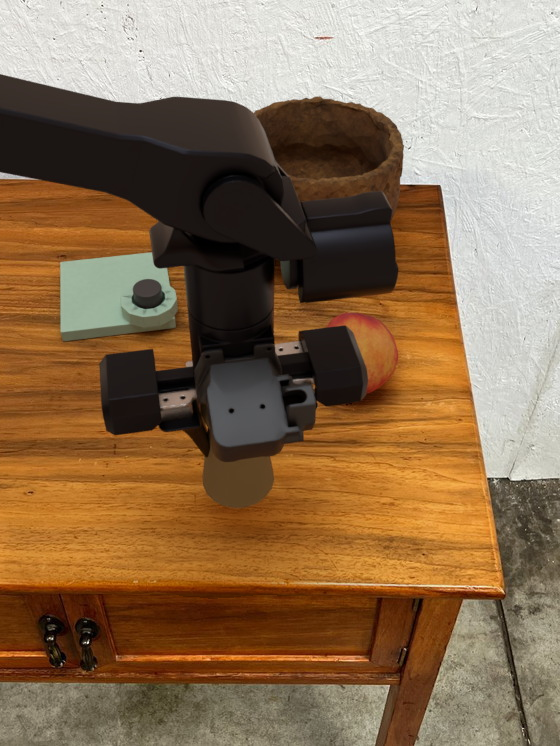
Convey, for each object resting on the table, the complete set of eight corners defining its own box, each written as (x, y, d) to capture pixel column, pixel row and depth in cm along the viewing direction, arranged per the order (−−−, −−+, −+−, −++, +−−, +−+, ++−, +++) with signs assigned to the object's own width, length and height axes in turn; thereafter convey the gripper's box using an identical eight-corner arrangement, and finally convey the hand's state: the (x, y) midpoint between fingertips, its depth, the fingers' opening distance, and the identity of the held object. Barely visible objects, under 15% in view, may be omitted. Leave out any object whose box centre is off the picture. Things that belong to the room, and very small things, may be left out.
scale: (62, 347, 82) (57, 327, 79) (62, 271, 90) (57, 250, 88) (181, 333, 83) (178, 312, 81) (169, 259, 92) (167, 239, 90)
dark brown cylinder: (135, 311, 82) (133, 298, 80) (133, 292, 84) (131, 280, 82) (164, 307, 82) (162, 295, 81) (161, 289, 84) (159, 277, 83)
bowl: (391, 205, 100) (406, 96, 90) (390, 300, 88) (408, 186, 77) (247, 195, 102) (245, 86, 91) (225, 287, 89) (220, 172, 78)
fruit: (402, 365, 81) (413, 307, 75) (379, 419, 75) (389, 362, 70) (330, 344, 82) (336, 286, 77) (303, 396, 77) (307, 338, 71)
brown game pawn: (234, 438, 68) (230, 348, 60) (288, 473, 65) (291, 385, 57) (187, 481, 65) (175, 393, 57) (241, 521, 62) (237, 434, 54)
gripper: (89, 412, 44) (124, 555, 55) (404, 370, 47) (376, 515, 58) (84, 287, 52) (116, 435, 63) (356, 257, 54) (339, 404, 66)
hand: (236, 448), depth 62 cm, fingers closed on brown game pawn, 4 cm apart
